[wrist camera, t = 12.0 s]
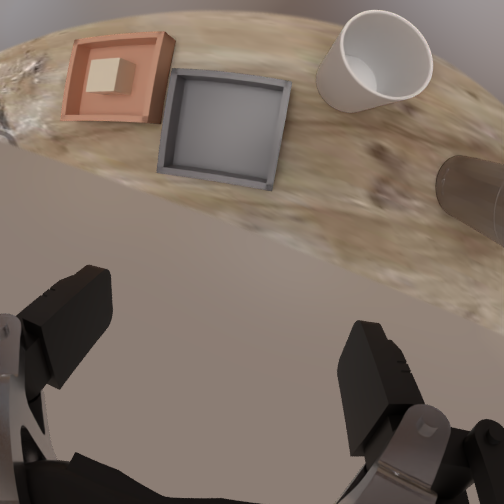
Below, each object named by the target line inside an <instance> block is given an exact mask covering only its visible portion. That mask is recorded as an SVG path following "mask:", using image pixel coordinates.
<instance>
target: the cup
mask: <svg viewBox="0 0 504 504" xmlns="http://www.w3.org/2000/svg"><path fill="white" fill-rule="evenodd" d="M432 72H433V59H432V54H431V51H430V49H429V46H428V44H427V42H426V40H425V38H424V37H423V35H422V34H421V33H420V32H419V30H418V29H417V28H416V27H415V26H414V25H412V24H411V23H410V22H409V21H407V20H406V19H404V18H403V17H401V16H399V15H397V14H394V13H391V12H387V11H383V10H370V11H365V12H362V13H359V14H357V15H356V16H354V17H353V18H352V19H351V20H349V21H348V23H347V24H346V25H345V26H344V28H343V29H342V31H341V33H340V34H339V36H338V37H337V39H336V40H335V42H334V44H333V45H332V47H331V48H330V50H329V52H328V53H327V55H326V57H325V58H324V60H323V61H322V63H321V65H320V66H319V68H318V71H317V74H316V84H317V88H318V91H319V93H320V95H321V97H322V98H323V99H324V101H325V102H326V103H327V104H329V105H330V106H331V107H333V108H335V109H337V110H339V111H342V112H347V113H355V112H360V111H363V110H367V109H370V108H374V107H378V106H382V105H386V104H390V103H393V102H398V101H402V100H406V99H409V98H412V97H414V96H416V95H418V94H419V93H421V92H422V91H423V90H424V89H425V88H426V86H427V85H428V83H429V82H430V79H431V76H432Z"/></svg>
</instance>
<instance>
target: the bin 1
mask: <svg viewBox="0 0 504 504" xmlns="http://www.w3.org/2000/svg"><path fill="white" fill-rule="evenodd" d="M175 43H176V41H175V40H174V39H173V38H172V37H171V36H169V35H168V34H167V33H166V32H165V31H163V32H139V33H125V34H114V35H105V36H97V37H90V38H84V39H77V40H74V44H73V49H72V53H71V58H70V63H69V68H68V73H67V78H66V84H65V90H64V97H63V104H62V111H61V120H60V121H123V122H142V123H158V124H161V118H162V112H163V105H164V99H165V93H166V88H167V82H168V77H169V71H170V66H171V61H172V56H173V52H174V47H175ZM108 58H122V59H124V60H127V61H129V62H132V63H134V64H136V69H135V74H134V79H133V85H132V91H131V95H102V94H96V93H89V92H86V87H87V81H88V75H89V70H90V65H91V60H96V59H108Z"/></svg>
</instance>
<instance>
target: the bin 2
mask: <svg viewBox="0 0 504 504" xmlns="http://www.w3.org/2000/svg"><path fill="white" fill-rule="evenodd" d="M291 86H292V82H291V81H286V80H280V79H275V78H268V77H262V76H255V75H248V74H240V73H232V72H222V71H211V70H198V69H179V68H172V71H171V76H170V82H169V87H168V93H167V99H166V105H165V111H164V118H163V125H162V132H161V139H160V147H159V155H158V163H157V173H161V174H169V175H176V176H183V177H190V178H197V179H203V180H210V181H216V182H222V183H228V184H234V185H240V186H246V187H252V188H257V189H263V190H268V191H272V189H273V183H274V178H275V173H276V167H277V162H278V157H279V151H280V146H281V140H282V135H283V130H284V124H285V119H286V113H287V108H288V102H289V97H290V91H291Z"/></svg>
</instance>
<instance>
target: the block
mask: <svg viewBox="0 0 504 504" xmlns="http://www.w3.org/2000/svg"><path fill="white" fill-rule="evenodd" d="M135 69H136V64H134V63H132V62H129V61H127V60H124V59H122V58H108V59H96V60H91V65H90V70H89V75H88V81H87V87H86V92H89V93H96V94H102V95H131V91H132V85H133V79H134V74H135Z"/></svg>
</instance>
